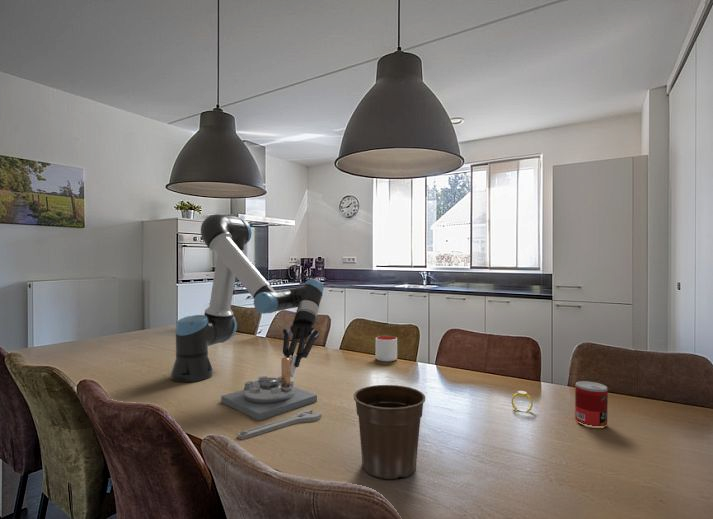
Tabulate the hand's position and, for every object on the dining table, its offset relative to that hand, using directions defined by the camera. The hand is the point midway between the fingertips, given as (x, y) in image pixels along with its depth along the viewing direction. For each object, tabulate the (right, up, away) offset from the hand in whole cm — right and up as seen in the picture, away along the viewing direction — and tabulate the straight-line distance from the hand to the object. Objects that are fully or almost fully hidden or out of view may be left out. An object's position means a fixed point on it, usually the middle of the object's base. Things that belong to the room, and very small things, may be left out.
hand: (288, 375), depth 132 cm
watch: (+73, -9, -7) cm, 74 cm away
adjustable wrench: (+1, -10, -17) cm, 20 cm away
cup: (+36, -9, +56) cm, 67 cm away
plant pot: (+29, -10, -40) cm, 50 cm away
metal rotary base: (-7, -7, +1) cm, 10 cm away
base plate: (-7, -9, +1) cm, 11 cm away
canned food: (+89, -9, -16) cm, 91 cm away
